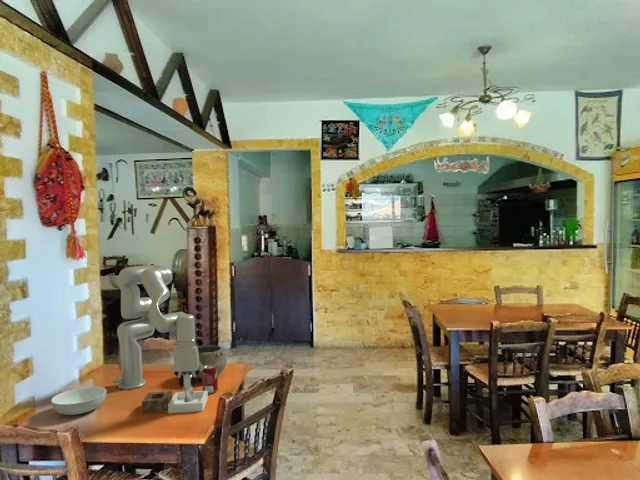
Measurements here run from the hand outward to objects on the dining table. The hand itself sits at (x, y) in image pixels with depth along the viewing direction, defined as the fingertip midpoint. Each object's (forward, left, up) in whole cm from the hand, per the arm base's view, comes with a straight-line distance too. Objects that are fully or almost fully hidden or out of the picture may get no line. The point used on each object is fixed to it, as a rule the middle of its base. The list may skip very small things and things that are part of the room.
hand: (187, 385), depth 192 cm
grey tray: (0, 0, -9) cm, 9 cm away
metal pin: (0, 0, -6) cm, 6 cm away
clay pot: (+2, +36, -9) cm, 37 cm away
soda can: (+7, +15, -9) cm, 19 cm away
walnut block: (-13, 0, -9) cm, 16 cm away
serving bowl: (-46, +3, -9) cm, 47 cm away
